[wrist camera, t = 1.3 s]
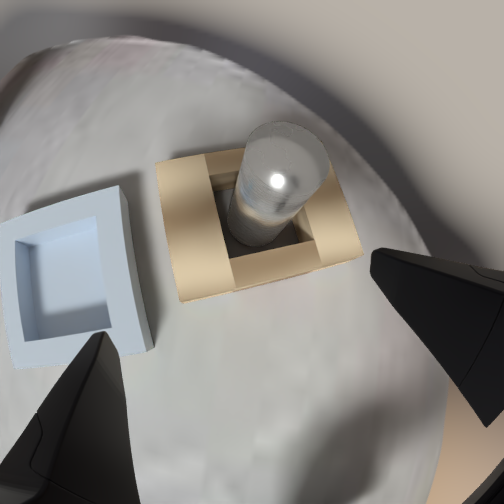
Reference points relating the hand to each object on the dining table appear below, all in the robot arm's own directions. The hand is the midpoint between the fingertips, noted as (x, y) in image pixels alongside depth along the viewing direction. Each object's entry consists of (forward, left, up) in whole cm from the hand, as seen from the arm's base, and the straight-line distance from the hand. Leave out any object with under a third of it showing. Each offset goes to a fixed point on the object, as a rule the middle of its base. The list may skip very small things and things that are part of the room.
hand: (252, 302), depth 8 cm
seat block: (+5, +12, -13) cm, 18 cm away
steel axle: (+7, -4, -13) cm, 15 cm away
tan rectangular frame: (+7, -4, -13) cm, 15 cm away
